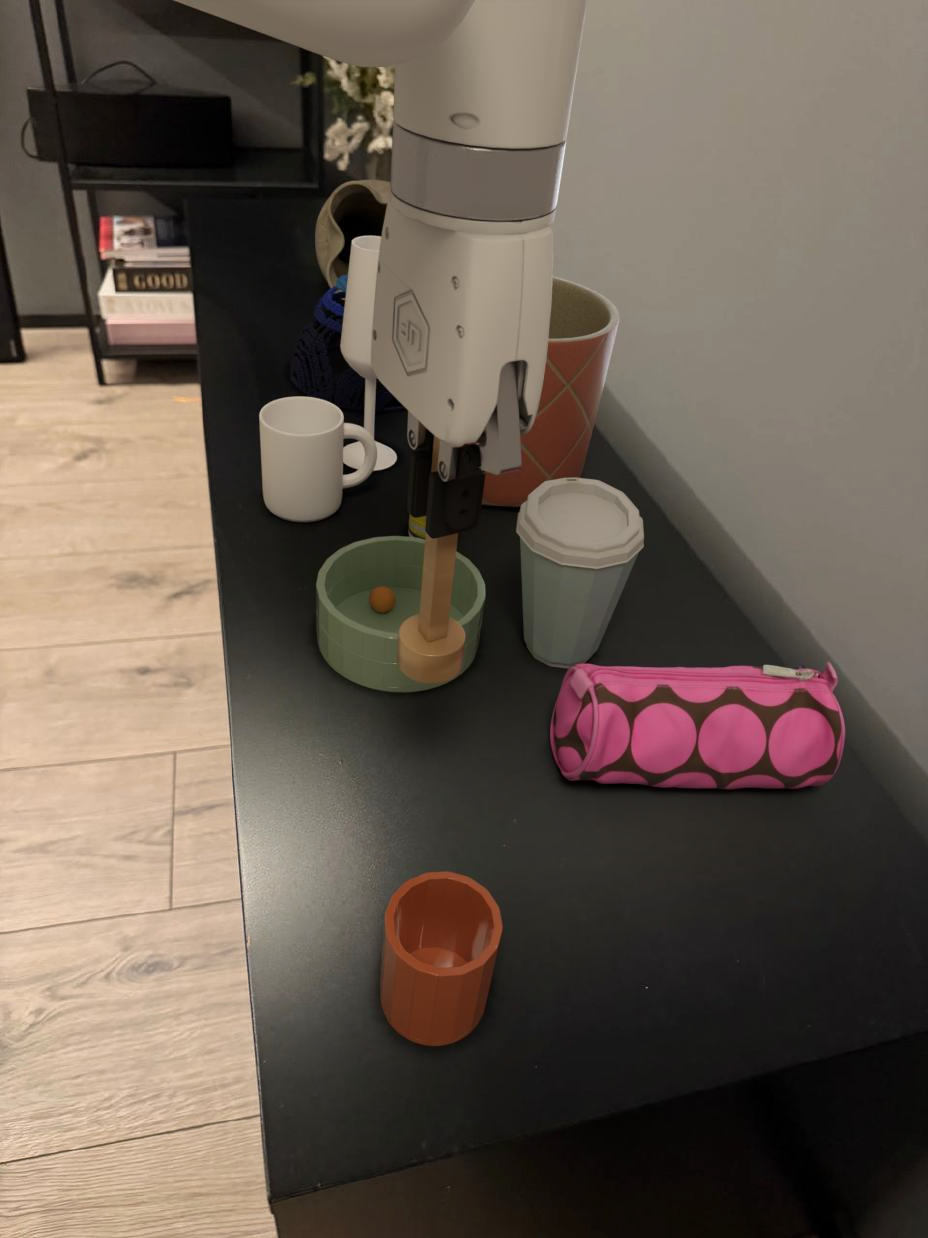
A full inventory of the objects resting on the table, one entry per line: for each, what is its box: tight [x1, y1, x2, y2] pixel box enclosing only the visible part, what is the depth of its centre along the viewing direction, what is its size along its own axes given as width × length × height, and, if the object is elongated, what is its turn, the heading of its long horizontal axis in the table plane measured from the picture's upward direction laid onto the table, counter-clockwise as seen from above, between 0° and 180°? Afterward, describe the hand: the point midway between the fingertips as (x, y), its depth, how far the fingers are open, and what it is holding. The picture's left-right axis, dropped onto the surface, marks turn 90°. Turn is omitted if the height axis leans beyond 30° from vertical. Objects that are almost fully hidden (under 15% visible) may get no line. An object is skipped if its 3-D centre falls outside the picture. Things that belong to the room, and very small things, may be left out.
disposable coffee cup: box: [515, 477, 645, 669], centre depth 79 cm, size 11×11×15 cm
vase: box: [314, 179, 391, 302], centre depth 144 cm, size 22×22×28 cm
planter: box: [468, 275, 620, 508], centre depth 101 cm, size 19×19×20 cm
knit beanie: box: [289, 274, 406, 413], centre depth 118 cm, size 20×20×14 cm
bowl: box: [315, 535, 486, 693], centre depth 81 cm, size 14×14×6 cm
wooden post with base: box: [397, 435, 468, 684], centre depth 54 cm, size 4×4×16 cm
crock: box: [379, 870, 504, 1047], centre depth 55 cm, size 7×7×8 cm
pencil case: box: [549, 661, 846, 790], centre depth 71 cm, size 21×10×10 cm, turn 97°
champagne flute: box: [339, 236, 398, 472], centre depth 99 cm, size 7×7×24 cm
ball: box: [369, 586, 395, 613], centre depth 84 cm, size 2×2×2 cm
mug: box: [258, 396, 377, 523], centre depth 95 cm, size 12×8×10 cm
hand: (442, 519), depth 52 cm, fingers closed on wooden post with base, 1 cm apart
